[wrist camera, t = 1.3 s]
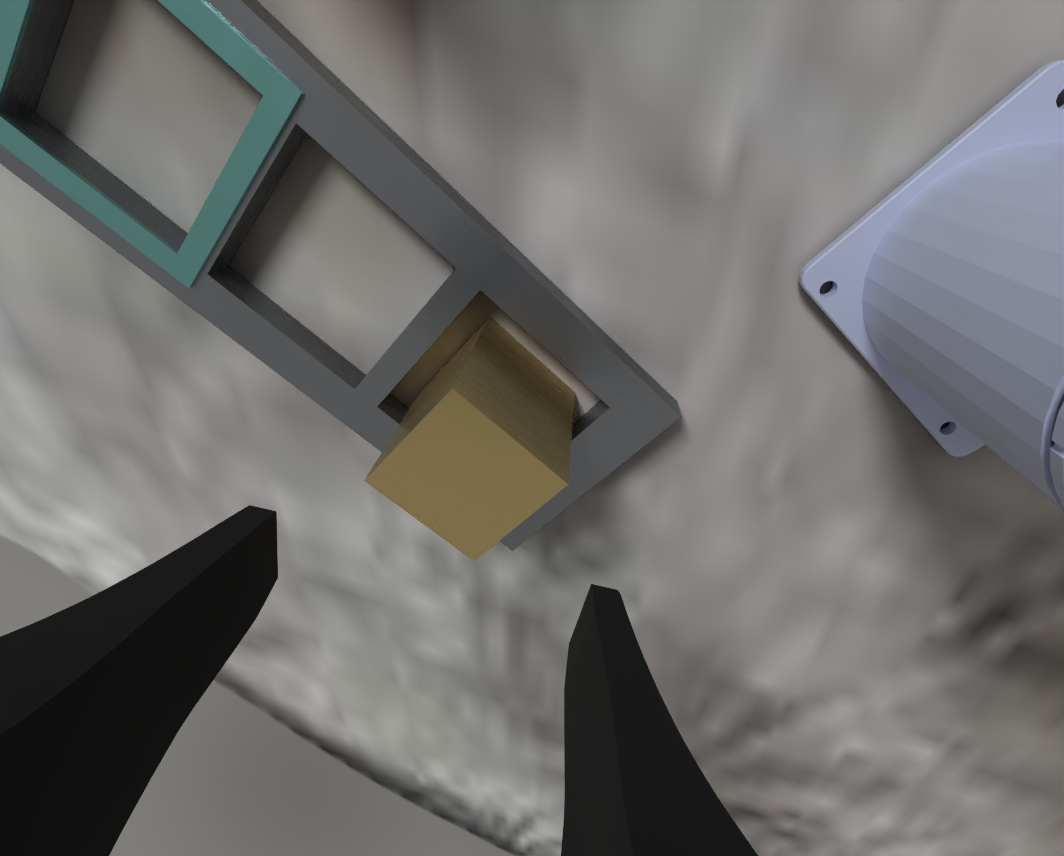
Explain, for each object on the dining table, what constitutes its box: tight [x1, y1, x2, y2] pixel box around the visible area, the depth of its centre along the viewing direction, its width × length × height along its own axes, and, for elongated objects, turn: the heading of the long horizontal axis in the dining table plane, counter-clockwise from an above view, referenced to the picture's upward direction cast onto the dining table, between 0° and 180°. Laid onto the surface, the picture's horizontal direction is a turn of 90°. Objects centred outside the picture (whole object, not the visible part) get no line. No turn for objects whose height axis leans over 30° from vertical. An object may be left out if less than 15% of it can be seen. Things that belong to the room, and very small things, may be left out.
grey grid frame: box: [0, 0, 681, 551], centre depth 19 cm, size 24×9×1 cm, turn 48°
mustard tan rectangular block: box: [364, 316, 575, 561], centre depth 19 cm, size 4×4×6 cm
